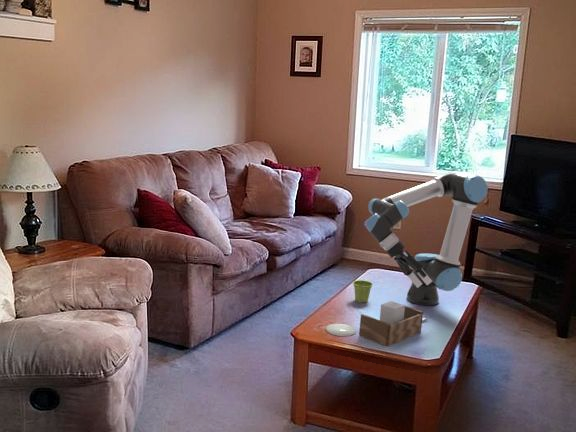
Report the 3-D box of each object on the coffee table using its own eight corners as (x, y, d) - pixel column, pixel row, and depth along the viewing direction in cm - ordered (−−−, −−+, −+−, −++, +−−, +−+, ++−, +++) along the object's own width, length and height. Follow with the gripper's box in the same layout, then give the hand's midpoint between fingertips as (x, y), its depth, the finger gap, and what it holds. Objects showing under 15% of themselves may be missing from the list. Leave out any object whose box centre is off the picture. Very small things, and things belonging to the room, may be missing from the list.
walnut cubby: (393, 322, 264) (395, 302, 262) (420, 332, 255) (423, 311, 253) (359, 335, 247) (360, 314, 245) (387, 346, 238) (389, 324, 236)
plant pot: (348, 301, 287) (350, 283, 285) (355, 296, 296) (356, 278, 294) (367, 305, 283) (369, 287, 282) (373, 299, 292) (375, 282, 290)
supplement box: (403, 334, 251) (405, 305, 248) (392, 338, 246) (395, 309, 243) (388, 328, 256) (390, 300, 253) (377, 333, 251) (380, 304, 248)
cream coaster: (338, 322, 259) (339, 321, 259) (361, 331, 251) (361, 330, 251) (320, 329, 251) (320, 328, 251) (342, 338, 243) (342, 337, 243)
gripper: (379, 254, 271) (409, 292, 269) (393, 246, 247) (427, 287, 245) (391, 244, 273) (422, 281, 271) (406, 235, 248) (440, 276, 246)
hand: (424, 284), depth 258 cm, fingers open, 13 cm apart
